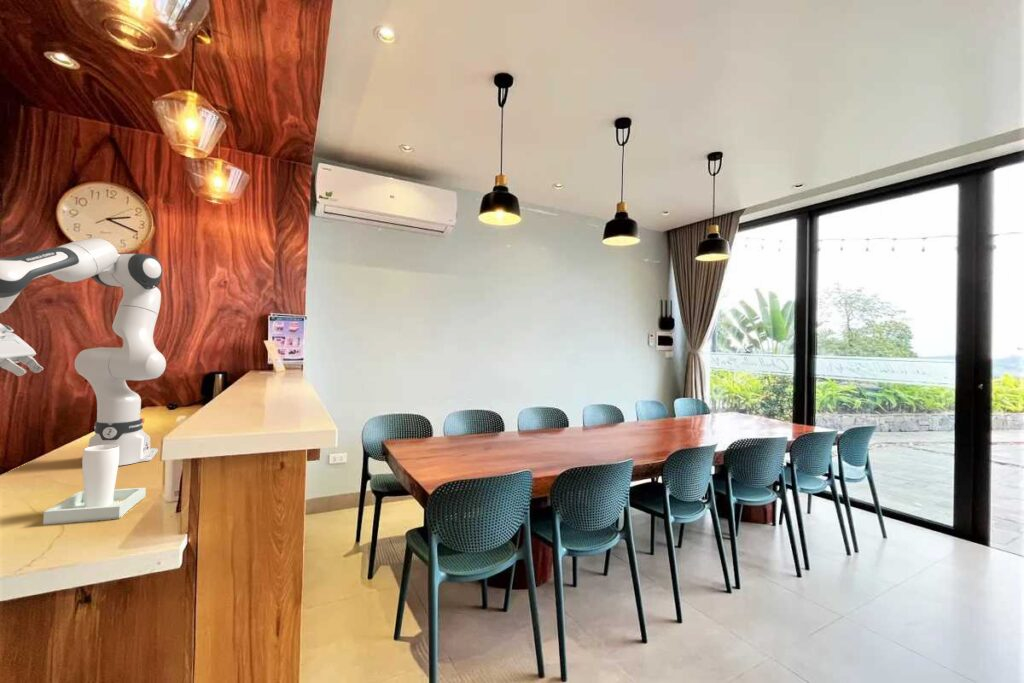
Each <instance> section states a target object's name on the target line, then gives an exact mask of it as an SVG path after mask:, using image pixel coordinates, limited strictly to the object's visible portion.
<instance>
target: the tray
mask: <svg viewBox="0 0 1024 683" xmlns="http://www.w3.org/2000/svg"><path fill="white" fill-rule="evenodd" d="M146 490H147V489H146V487H136V488H135V487H131V488H115V490H114V498H113V504H112V505H111V506H101V507H86V508H84V490H82V491H78V492H76V493H74V494H73V495H71V496H69V497H68V498H65V499H64V500H62V501H60V502H59V503H57V504H55V505H53V506H52V507H50V508H47V509H46V510H44V511H43V518H42V519H43V521H42V522H43V524H42V525H44V526H46V525H59V524H71V523H84V522H85V523H86V522H87V523H88V522H97V521H98V520H100V521H111V519H113V520H120V519H121V518H122V517H124V516H125V515H126V514H127V513H128V512H127V511H128V510H129V509H130V508H132V507H133V506H134V505H135V504H136V503H138V502H139V501H140V500H141V499H143V498H144V497H145V498H146V492H147V491H146ZM120 499H125V500H123V501H120V502H119V500H120ZM114 500H116V501H117V500H118V501H117V502H116V501H114ZM126 512H127V513H126ZM125 513H126V514H125ZM124 514H125V515H124ZM123 515H124V516H123ZM120 517H121V518H120ZM119 518H120V519H119ZM98 522H99V521H98Z"/></svg>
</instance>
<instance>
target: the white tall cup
mask: <svg viewBox="0 0 1024 683" xmlns="http://www.w3.org/2000/svg"><path fill="white" fill-rule="evenodd" d="M82 460H83V461H82ZM82 460H81V462H82V463H81V464H82V465H81V466H82V468H81V469H82V481H83V482H82V483H83V491H84V508H86V507H101V506H111V505H112V504H113V498H114V490H115V489H116V483H117V475H118V470H119V466H118V465H119V446H118V445H99V446H92V447H88V446H87V447H86V448H84V449H83V452H82Z"/></svg>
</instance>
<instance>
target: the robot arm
mask: <svg viewBox="0 0 1024 683" xmlns="http://www.w3.org/2000/svg"><path fill="white" fill-rule="evenodd" d="M47 275H51V276H52V277H54V278H55V279H57V280H59V281H62V282H66V283H75V282H81V281H84V280H86V279H89V278H92V279H93V280H94V282H96V283H97V284H99V285H102V286H103V287H110V288H115V287H116V288H117V287H120V288H122V298H121V300H120V302H119V305H118V308H117V311H116V313H115V316H114V318H113V323H112V325H111V326H112V331H113V332H114V333H115V335H117V336H119V337H120V338H121V339H122V340H123V341H122V342H123V344H122V347H107V346H104V347H103V346H100V347H93V348H92V347H91V348H86V349H83V350H81V351H80V352H79V353H78V354H77V355H76V357H75V360H74V368H75V370H76V372H77V374H78V375H80V376H81V377H83V378H84V379H85V380H87V382H88V383H89V385H90V386H91V387H92V390H93V392H94V394H95V397H96V410H97V411H96V421H95V422H94V426H93V428H94V433H95V434H94V435H92V436H91V437H90V438H89V440H88V444H87V445H88V446H87V448H88V447H92V446H99V445H118V446H119V465H118V467H121V466H127V465H130V464H131V465H132V464H137V463H141V462H148V461H152V460H153V458H154V457H155V455H156V454H157V453H158V452H159V449H158V448H157V447H151V437H150V435H148V434H147V432H146V431H144V430H143V429H144V427H143V424H145V417H141V411H142V410H141V409H142V398H141V396H140V395H139V393H137V392H135V391H134V390H132V389H131V388H130V387H129V386H128V384H127V382H126V381H141V382H142V381H147V380H153V379H154V380H155V379H158V378H160V377H161V376H162V375H163V374H164V372H165V370H166V367H167V361H166V358H165V355H163V354H162V353H161V351H159V350H158V349H157V347H156V345H155V341H154V333H155V328H156V324H157V320H158V316H159V313H160V309H161V305H162V304H161V303H162V302H161V300H162V293H161V290H160V289H159V287H158V286H160V283H161V280H162V278H163V266H162V263H161V262H160V260H159V259H158V258H157V257H156V256H153V255H151V254H147V253H141V252H139V253H120V254H119V252H118V249H117V248H116V247H115V246H114V244H113V243H111V242H109V241H108V240H106V239H103V238H100V237H99V238H98V237H94V238H86V239H80V240H76V241H72V242H69V243H65V244H62V245H59V246H56V247H51V248H46V249H41V250H38V251H37V250H36V251H34V252H30V253H26V254H21V255H18V256H17V255H16V256H12V257H11V256H9V257H0V314H2V313H4V312H5V311H7V310H8V309H9V308H10V306H11V305H12V304H13V302H15V300H16V299H17V297H18V296H19V295H20V293H22V291H23V290H24V289H26V287H27V286H28V285H29V284H30V283H31V282H32V281H33V280H35V279H38V278H41V277H43V276H47ZM14 331H15V330H14V329H13V328H12V327H11V326H9V325H7V324H4V323H1V322H0V368H1V369H4V370H6V371H8V372H10V373H12V374H14V375H15V376H17V377H22V376H24V375H25V374H28V370H27V369H26V368H24V367H23V366H20V365H18V364H19V363H21V364H22V365H25V366H26V367H28V368H29V370H30V371H31V372H32V373H35V374H38V373H40V372H42V371H43V370H44V367H43V366H41V365H40V364H39V362H37V360H36V359H35V358H34V356H35V357H36V355H37V353H36V352H37V351H35V349H34V348H33V347H32V346H30V345H29V344H28V343H27V342H26V341H25V340H23V339H22V338H21V337H20V336H18V335H17V334H16V333H13V332H14ZM82 461H83V459H82V460H81V464H82Z"/></svg>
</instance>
